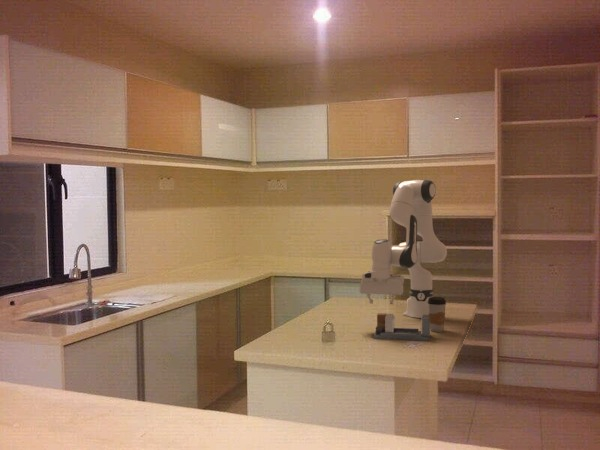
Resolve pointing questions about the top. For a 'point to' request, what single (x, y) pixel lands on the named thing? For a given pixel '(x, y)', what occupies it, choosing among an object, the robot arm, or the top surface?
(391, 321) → the jaw
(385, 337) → the vise
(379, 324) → the block
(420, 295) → the robot arm
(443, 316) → the coffee cup
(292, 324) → the top surface
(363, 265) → the top surface
